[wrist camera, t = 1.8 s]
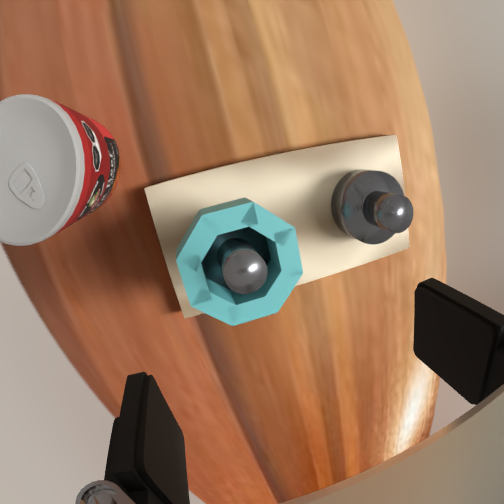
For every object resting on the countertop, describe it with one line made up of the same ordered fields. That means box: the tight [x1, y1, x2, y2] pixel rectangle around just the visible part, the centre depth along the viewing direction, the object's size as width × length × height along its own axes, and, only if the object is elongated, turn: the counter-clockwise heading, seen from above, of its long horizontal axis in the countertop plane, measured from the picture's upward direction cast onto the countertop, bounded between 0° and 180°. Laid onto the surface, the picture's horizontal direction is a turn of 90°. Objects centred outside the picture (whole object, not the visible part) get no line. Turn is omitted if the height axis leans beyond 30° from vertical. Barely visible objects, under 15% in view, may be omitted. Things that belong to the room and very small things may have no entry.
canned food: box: [0, 94, 120, 246], centre depth 17 cm, size 8×8×11 cm
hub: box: [331, 169, 413, 245], centre depth 24 cm, size 6×6×6 cm
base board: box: [144, 135, 409, 318], centre depth 27 cm, size 11×22×2 cm, turn 104°
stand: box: [202, 227, 271, 294], centre depth 21 cm, size 5×5×8 cm
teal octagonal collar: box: [176, 197, 303, 326], centre depth 20 cm, size 7×7×2 cm
